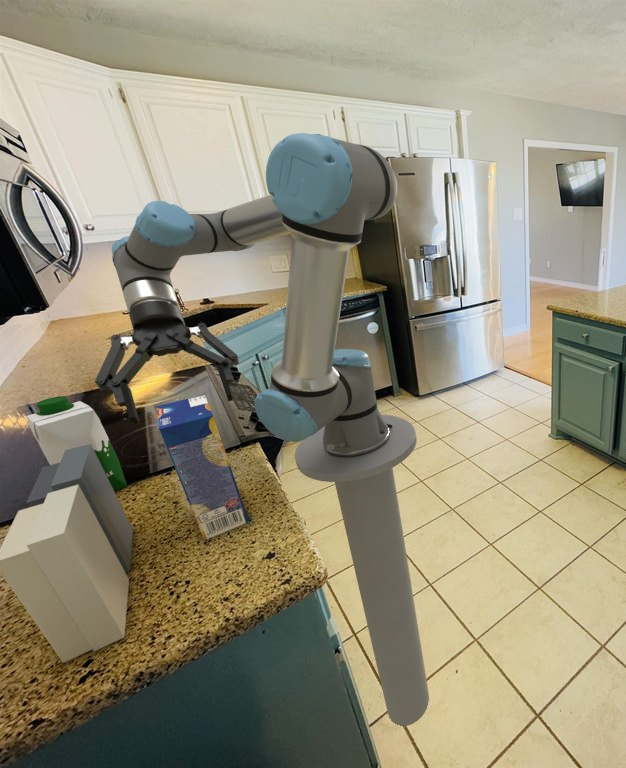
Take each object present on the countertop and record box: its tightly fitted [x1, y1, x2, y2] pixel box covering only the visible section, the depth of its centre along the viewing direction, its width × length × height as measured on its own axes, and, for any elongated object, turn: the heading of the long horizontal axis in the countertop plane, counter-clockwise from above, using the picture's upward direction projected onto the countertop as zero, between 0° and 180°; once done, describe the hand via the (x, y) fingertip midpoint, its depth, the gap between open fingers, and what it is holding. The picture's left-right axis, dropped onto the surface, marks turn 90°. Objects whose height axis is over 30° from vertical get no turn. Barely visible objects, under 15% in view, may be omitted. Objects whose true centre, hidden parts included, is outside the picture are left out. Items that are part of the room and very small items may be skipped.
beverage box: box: [155, 394, 250, 541], centre depth 72 cm, size 7×11×22 cm, turn 41°
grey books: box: [25, 444, 134, 574], centre depth 63 cm, size 6×12×18 cm, turn 39°
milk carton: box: [26, 395, 128, 492], centre depth 80 cm, size 9×9×20 cm
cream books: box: [0, 485, 130, 664], centre depth 53 cm, size 6×12×18 cm, turn 39°
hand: (184, 408), depth 72 cm, fingers open, 13 cm apart
